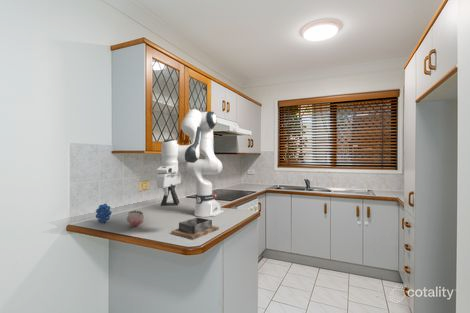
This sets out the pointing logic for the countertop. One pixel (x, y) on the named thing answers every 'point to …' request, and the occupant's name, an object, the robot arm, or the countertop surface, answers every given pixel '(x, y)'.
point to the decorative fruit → (135, 218)
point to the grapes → (103, 213)
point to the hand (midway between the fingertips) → (170, 194)
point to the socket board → (195, 228)
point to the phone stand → (174, 196)
